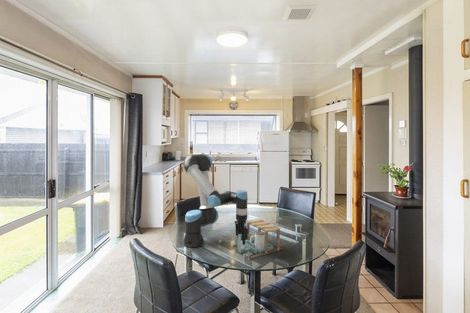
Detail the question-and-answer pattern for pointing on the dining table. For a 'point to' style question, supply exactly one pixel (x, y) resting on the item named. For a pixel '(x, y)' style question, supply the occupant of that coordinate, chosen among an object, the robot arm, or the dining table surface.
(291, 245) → the dining table surface
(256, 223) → the wooden slat rack
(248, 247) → the sled
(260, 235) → the cup
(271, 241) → the pit
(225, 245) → the dining table surface
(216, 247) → the dining table surface
